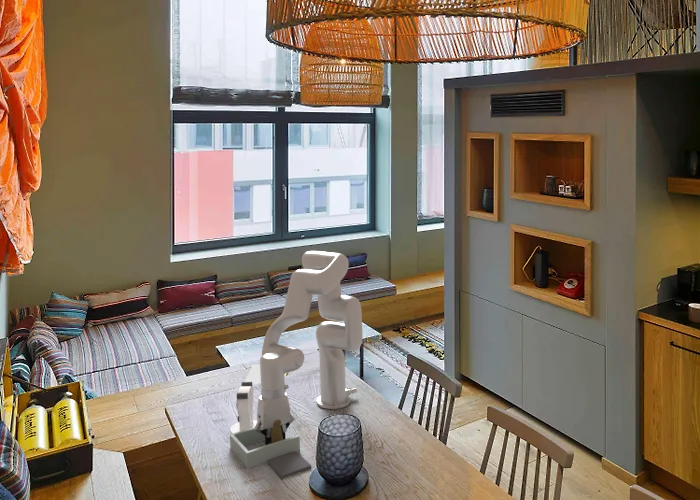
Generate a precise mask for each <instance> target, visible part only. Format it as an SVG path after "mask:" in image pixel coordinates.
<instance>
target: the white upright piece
mask: <svg viewBox="0 0 700 500" xmlns="http://www.w3.org/2000/svg"><path fill="white" fill-rule="evenodd" d="M253 389H254V388H253V381H242V382H241V386H240V387H239V388H238V392H236V410H237V422H236V423H234V424H233V425H231V426H230V428H229V429H230V434H233V433H237V432H240V431H243V430H247V429H250V428H253V427H255V426H256V424H257V419H256V420H255V419H254V390H253Z"/></svg>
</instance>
